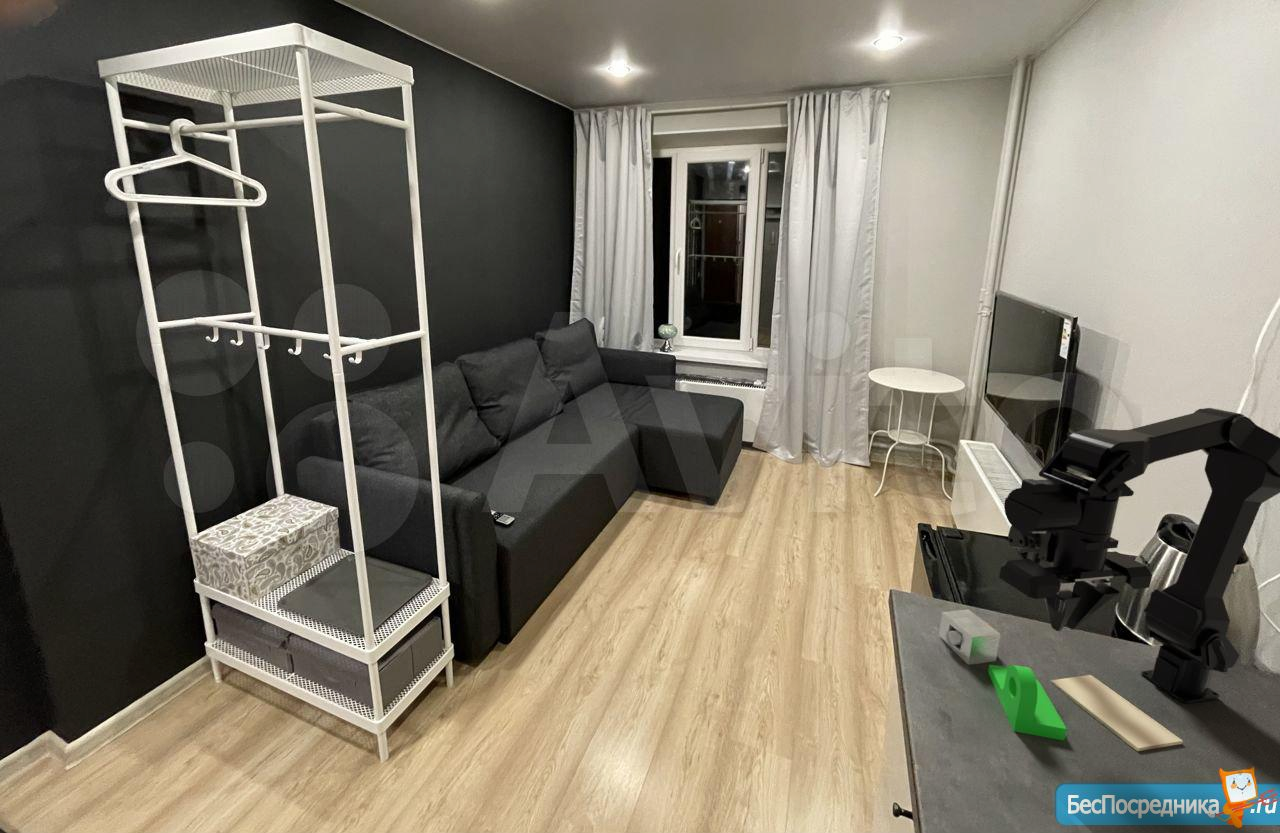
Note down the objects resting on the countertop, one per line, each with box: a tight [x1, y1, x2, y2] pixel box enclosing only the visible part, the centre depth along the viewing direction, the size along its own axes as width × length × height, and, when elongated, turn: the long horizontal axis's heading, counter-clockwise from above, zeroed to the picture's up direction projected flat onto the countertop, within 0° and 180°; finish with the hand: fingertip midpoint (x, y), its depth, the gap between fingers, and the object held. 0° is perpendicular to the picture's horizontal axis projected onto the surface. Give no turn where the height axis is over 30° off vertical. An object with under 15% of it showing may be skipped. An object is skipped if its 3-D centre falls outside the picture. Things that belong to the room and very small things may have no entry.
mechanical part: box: [987, 664, 1068, 741], centre depth 82 cm, size 12×6×8 cm, turn 164°
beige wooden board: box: [1050, 674, 1184, 752], centre depth 82 cm, size 7×13×1 cm, turn 10°
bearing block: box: [938, 609, 1001, 665], centre depth 94 cm, size 5×7×6 cm
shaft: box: [946, 621, 996, 645], centre depth 94 cm, size 7×4×4 cm, turn 100°
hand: (1063, 628), depth 80 cm, fingers closed
